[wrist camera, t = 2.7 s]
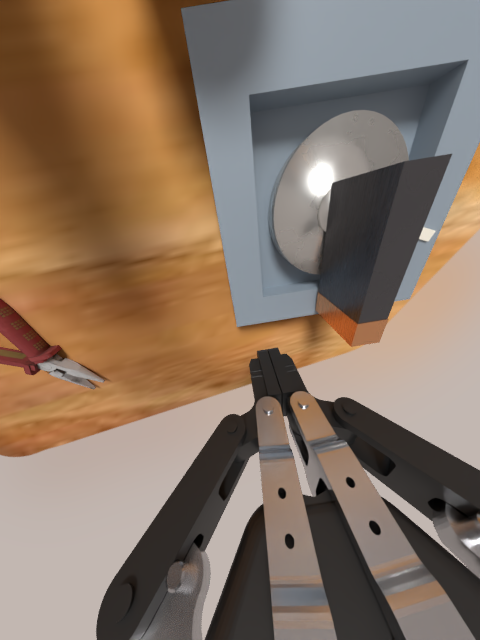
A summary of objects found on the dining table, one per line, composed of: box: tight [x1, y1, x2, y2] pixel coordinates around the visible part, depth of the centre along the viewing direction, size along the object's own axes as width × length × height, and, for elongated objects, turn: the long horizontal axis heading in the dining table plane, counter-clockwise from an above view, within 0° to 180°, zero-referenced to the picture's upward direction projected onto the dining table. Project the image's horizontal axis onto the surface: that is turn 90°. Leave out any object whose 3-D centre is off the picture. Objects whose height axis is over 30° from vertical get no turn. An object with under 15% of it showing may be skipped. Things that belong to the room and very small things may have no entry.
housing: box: [181, 0, 480, 327], centre depth 17 cm, size 22×22×3 cm
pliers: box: [0, 299, 105, 389], centre depth 23 cm, size 12×20×3 cm, turn 38°
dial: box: [268, 110, 452, 347], centre depth 14 cm, size 16×12×9 cm
